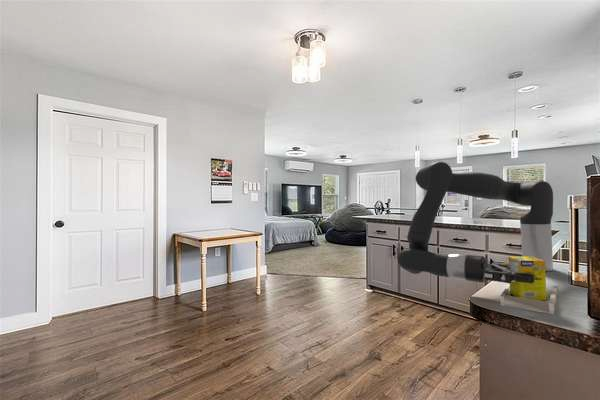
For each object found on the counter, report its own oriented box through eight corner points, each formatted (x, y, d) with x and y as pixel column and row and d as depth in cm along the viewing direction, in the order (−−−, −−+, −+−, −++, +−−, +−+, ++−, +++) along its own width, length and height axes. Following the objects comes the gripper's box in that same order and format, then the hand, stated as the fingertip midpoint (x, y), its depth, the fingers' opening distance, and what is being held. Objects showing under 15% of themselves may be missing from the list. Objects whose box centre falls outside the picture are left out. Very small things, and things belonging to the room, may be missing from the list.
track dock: (513, 285, 94) (512, 277, 94) (557, 291, 87) (557, 282, 87) (500, 305, 78) (500, 295, 78) (553, 314, 71) (553, 303, 71)
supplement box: (547, 303, 76) (545, 260, 76) (520, 302, 77) (519, 260, 77) (534, 296, 81) (532, 256, 82) (509, 295, 83) (508, 255, 83)
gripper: (459, 258, 84) (532, 266, 73) (472, 251, 94) (537, 256, 83) (460, 285, 84) (533, 296, 73) (473, 275, 94) (538, 283, 83)
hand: (535, 275), depth 78 cm, fingers open, 8 cm apart
